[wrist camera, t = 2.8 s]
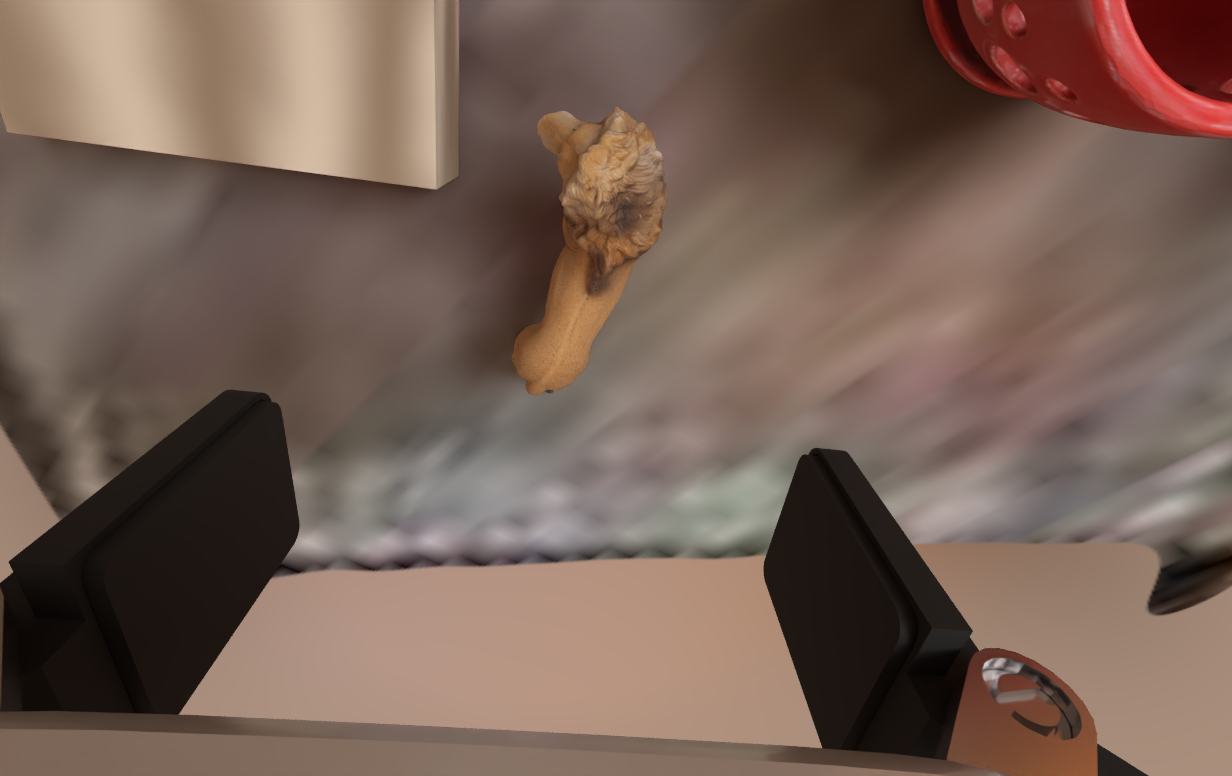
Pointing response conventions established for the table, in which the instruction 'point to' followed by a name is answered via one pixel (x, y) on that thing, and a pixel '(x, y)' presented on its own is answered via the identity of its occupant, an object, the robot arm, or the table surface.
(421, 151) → the birch plinth
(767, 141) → the table surface
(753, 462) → the table surface
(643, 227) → the lion figurine
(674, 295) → the table surface
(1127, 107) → the plant pot
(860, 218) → the table surface
